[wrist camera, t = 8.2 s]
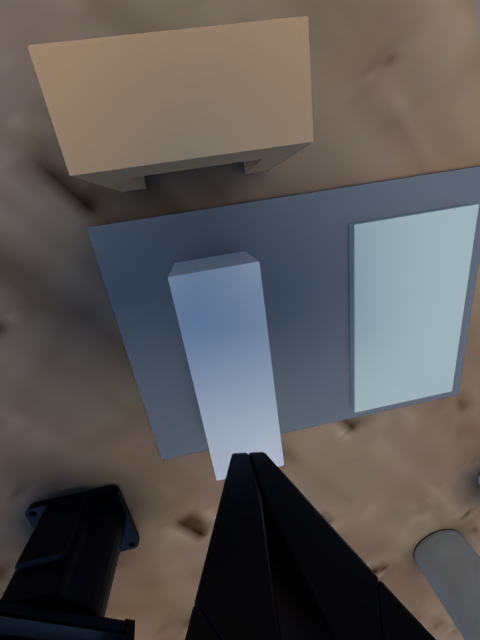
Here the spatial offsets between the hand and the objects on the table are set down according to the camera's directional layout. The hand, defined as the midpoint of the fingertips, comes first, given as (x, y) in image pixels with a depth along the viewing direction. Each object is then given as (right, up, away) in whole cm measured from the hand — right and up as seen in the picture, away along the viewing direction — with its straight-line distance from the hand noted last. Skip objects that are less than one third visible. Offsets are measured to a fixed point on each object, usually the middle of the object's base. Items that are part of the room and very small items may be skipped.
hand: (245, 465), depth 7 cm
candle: (+21, -20, +23) cm, 37 cm away
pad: (+11, +4, +12) cm, 17 cm away
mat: (+4, +3, +12) cm, 13 cm away
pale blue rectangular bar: (-1, +2, +11) cm, 11 cm away
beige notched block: (-3, +12, +7) cm, 15 cm away
